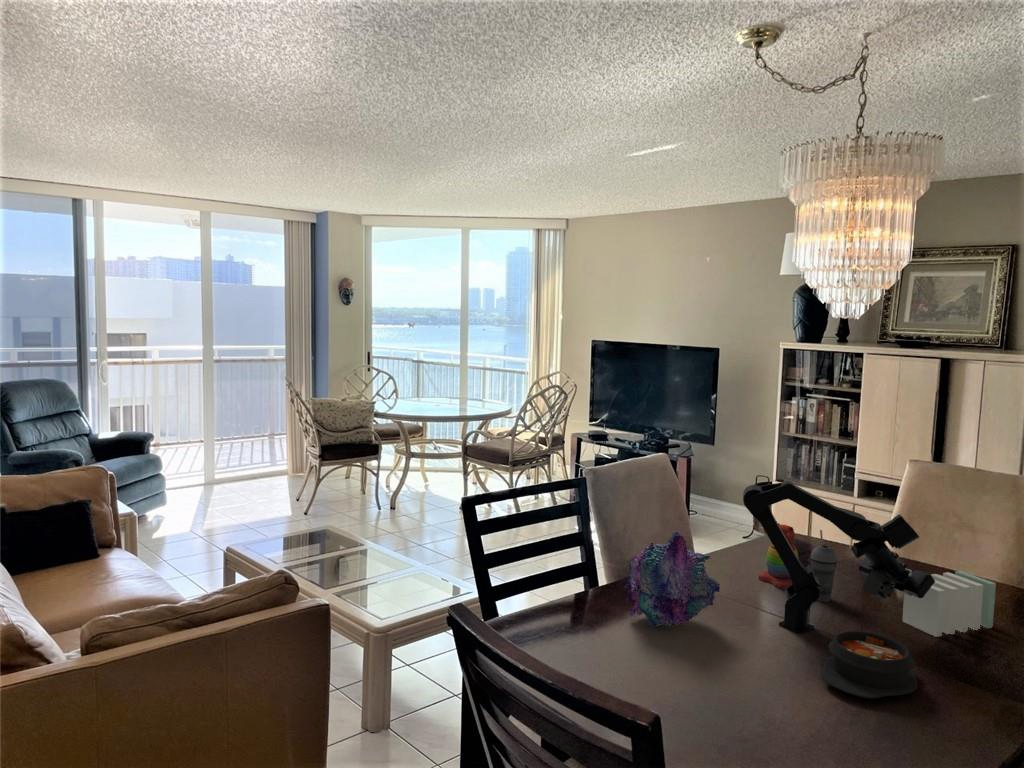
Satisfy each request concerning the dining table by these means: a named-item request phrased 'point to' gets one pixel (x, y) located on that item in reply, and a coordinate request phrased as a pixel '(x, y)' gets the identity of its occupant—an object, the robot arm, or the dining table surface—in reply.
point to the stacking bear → (778, 562)
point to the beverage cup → (824, 569)
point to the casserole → (869, 665)
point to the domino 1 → (925, 611)
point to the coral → (669, 583)
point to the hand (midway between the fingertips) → (911, 594)
